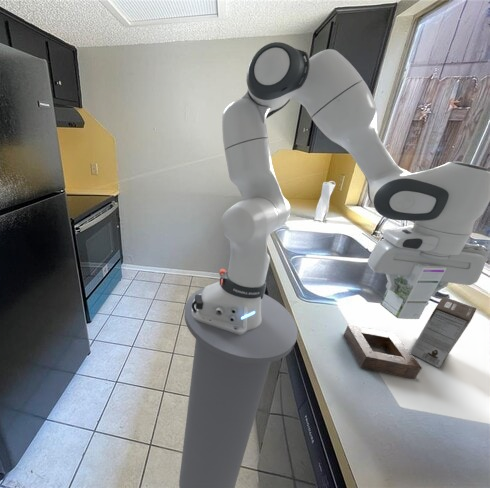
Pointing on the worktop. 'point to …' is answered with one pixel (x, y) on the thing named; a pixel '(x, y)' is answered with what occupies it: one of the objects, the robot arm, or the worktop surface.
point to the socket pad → (391, 363)
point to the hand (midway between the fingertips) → (408, 292)
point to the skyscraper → (324, 202)
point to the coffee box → (442, 331)
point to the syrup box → (413, 291)
